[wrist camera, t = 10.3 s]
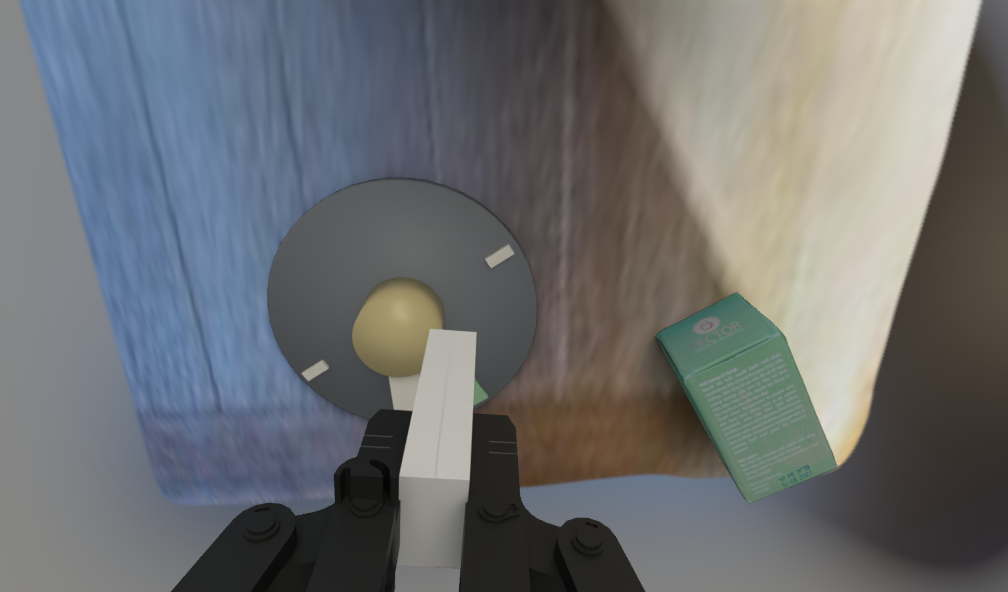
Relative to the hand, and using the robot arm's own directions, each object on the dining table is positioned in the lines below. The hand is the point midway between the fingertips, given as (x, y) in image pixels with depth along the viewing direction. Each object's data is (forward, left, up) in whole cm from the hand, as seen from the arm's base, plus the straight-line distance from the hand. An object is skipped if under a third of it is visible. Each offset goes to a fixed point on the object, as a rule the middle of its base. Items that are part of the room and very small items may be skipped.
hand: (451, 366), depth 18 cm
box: (+23, +10, -23) cm, 34 cm away
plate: (+4, -9, -23) cm, 25 cm away
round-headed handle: (+7, -10, -22) cm, 25 cm away
